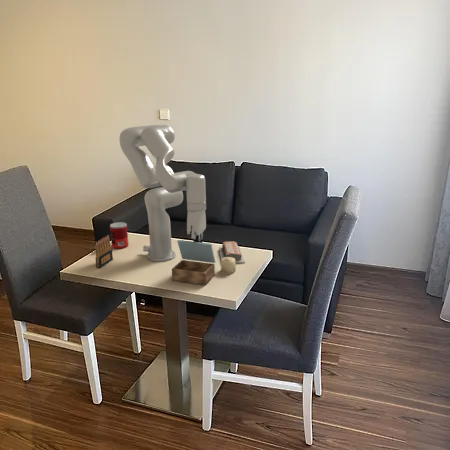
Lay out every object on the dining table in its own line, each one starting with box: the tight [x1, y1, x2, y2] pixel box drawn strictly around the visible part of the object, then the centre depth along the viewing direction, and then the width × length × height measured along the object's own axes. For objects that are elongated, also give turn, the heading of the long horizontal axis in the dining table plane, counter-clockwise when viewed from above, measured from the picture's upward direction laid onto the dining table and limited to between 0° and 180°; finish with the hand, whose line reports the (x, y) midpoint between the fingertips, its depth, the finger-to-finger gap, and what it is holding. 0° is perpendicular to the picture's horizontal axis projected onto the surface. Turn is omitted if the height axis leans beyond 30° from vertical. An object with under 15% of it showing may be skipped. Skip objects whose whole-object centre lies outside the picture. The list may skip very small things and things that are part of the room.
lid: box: [177, 239, 216, 264], centre depth 193 cm, size 14×10×1 cm
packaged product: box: [218, 240, 246, 265], centre depth 214 cm, size 18×5×10 cm
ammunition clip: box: [95, 234, 114, 269], centre depth 206 cm, size 11×2×12 cm, turn 162°
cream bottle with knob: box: [220, 257, 236, 275], centre depth 198 cm, size 6×6×5 cm
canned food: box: [109, 221, 129, 250], centre depth 227 cm, size 8×8×11 cm
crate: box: [171, 259, 216, 286], centre depth 192 cm, size 14×10×5 cm
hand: (198, 249), depth 194 cm, fingers closed
